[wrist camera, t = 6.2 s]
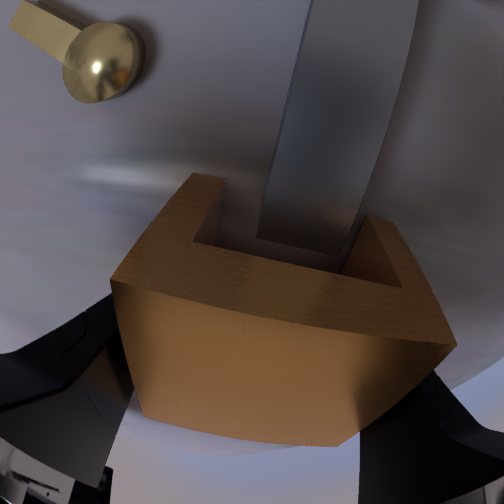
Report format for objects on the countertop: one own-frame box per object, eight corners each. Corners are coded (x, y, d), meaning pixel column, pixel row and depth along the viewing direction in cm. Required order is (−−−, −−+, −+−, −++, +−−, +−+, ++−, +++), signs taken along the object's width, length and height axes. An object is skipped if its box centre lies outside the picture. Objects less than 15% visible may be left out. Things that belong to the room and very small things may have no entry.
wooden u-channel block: (329, 339, 12) (336, 446, 8) (181, 310, 12) (143, 416, 8) (393, 222, 8) (457, 344, 4) (192, 172, 8) (109, 279, 4)
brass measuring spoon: (163, 46, 6) (149, 43, 6) (118, 113, 8) (101, 118, 7) (49, -15, 4) (32, -17, 3) (18, 41, 6) (1, 43, 5)
